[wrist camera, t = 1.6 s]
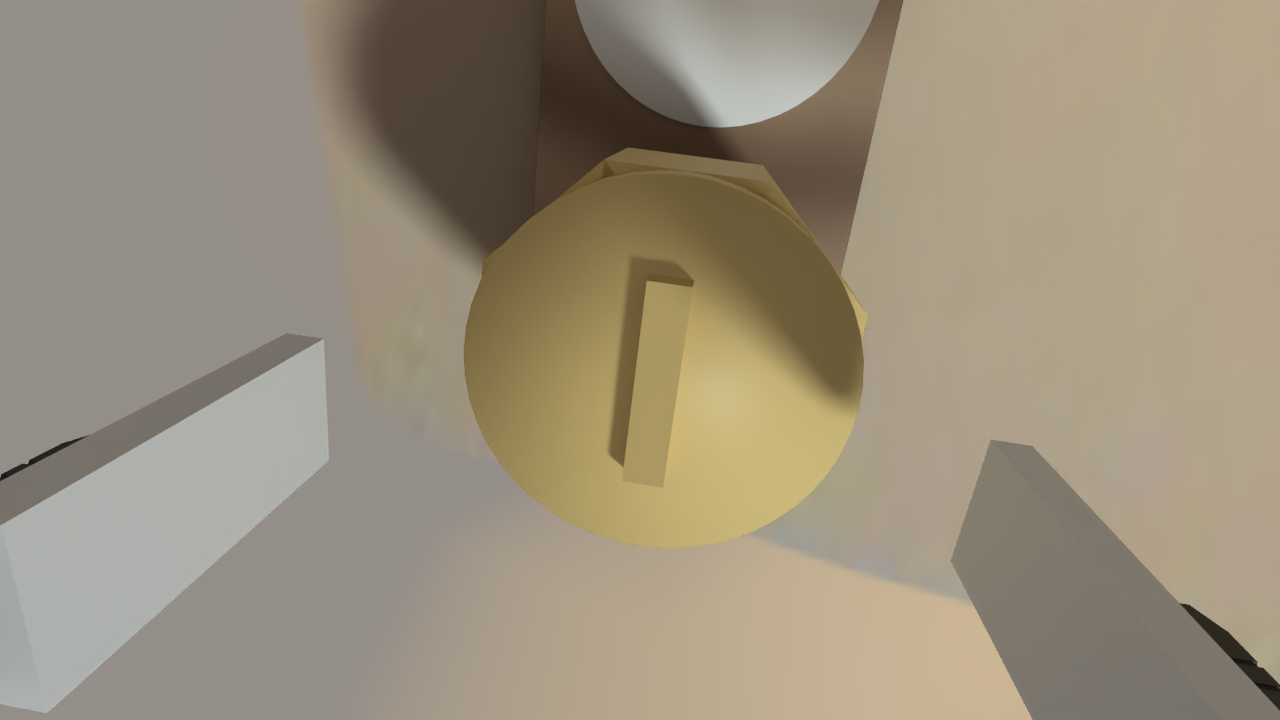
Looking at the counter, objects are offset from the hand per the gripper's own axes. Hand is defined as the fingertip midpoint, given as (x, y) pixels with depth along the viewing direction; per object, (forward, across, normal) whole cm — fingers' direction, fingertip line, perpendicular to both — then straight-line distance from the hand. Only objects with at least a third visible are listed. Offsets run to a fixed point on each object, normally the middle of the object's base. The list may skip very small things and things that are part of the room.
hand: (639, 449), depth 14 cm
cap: (+8, 0, 0) cm, 9 cm away
